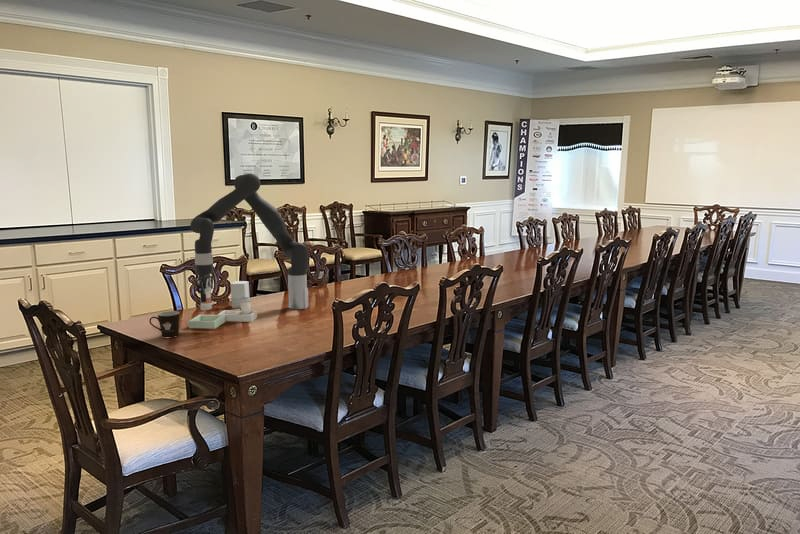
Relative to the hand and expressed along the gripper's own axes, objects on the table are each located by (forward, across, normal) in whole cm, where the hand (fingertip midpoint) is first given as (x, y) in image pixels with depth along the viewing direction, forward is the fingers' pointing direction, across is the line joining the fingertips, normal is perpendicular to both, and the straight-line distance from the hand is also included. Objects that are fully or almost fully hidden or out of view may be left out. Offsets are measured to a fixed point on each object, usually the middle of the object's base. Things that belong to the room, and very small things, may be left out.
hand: (205, 300), depth 275 cm
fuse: (+11, +11, -14) cm, 21 cm away
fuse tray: (+12, 0, 0) cm, 12 cm away
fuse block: (+12, +11, -10) cm, 19 cm away
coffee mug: (+12, -16, +11) cm, 23 cm away
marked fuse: (+4, 0, 0) cm, 4 cm away
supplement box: (+12, +40, -1) cm, 42 cm away
